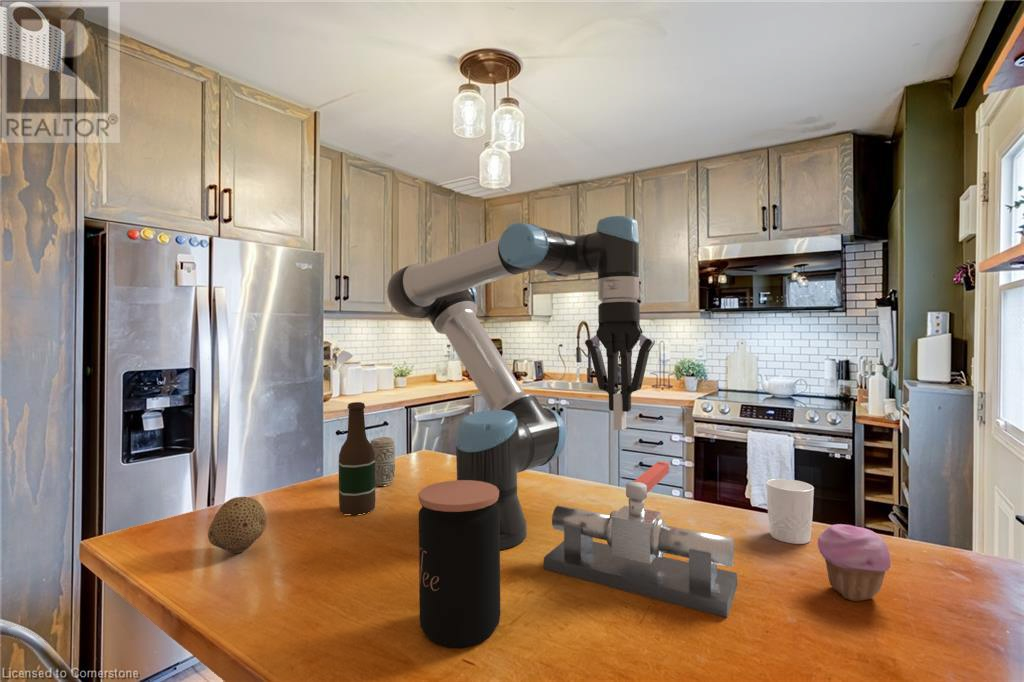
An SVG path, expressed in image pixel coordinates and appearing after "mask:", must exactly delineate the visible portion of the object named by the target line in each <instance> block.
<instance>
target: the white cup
mask: <svg viewBox="0 0 1024 682" xmlns="http://www.w3.org/2000/svg"><path fill="white" fill-rule="evenodd" d="M765 487H766V504H767V518H768V526H769V527H768V528H769V535H770V537H772V538H773V539H774V540H778V541H780V542H782V543H786V544H794V545H805V544H808V543H810V541H811V539H812V538H811V536H812V526H813V515H814V514H813V513H814V496H815V495H814V493H815V491H814V490H815V487H814V486H813V485H812V484H810V483H807V482H805V481H801V480H796V479H790V478H773V479H768V480H766V482H765Z"/></svg>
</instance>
